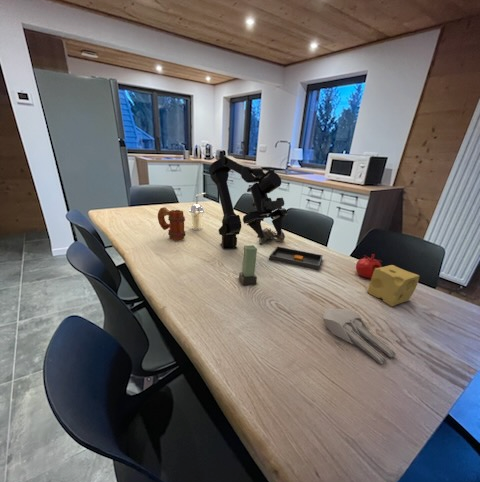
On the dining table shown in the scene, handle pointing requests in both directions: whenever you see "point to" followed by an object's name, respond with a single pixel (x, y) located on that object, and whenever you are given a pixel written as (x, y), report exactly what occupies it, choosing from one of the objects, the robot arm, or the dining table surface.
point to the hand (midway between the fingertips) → (271, 236)
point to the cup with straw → (196, 214)
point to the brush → (248, 266)
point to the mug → (172, 223)
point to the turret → (355, 331)
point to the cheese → (392, 284)
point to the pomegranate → (367, 266)
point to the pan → (288, 256)
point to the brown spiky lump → (271, 236)
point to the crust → (298, 258)
